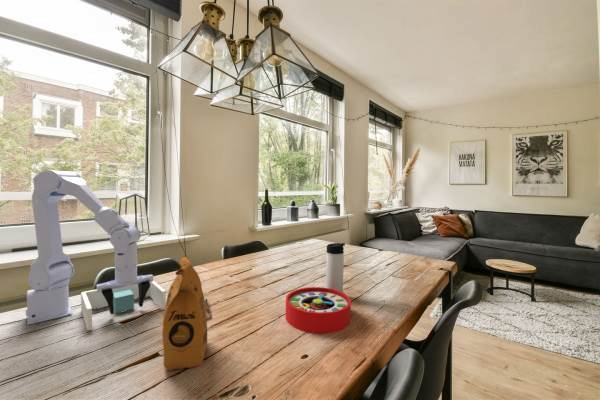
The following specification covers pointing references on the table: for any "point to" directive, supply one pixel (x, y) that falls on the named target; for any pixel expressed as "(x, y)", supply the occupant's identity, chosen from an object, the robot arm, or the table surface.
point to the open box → (98, 300)
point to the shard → (207, 309)
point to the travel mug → (335, 266)
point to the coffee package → (184, 320)
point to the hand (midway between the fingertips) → (126, 309)
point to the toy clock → (318, 310)
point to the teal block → (123, 301)
